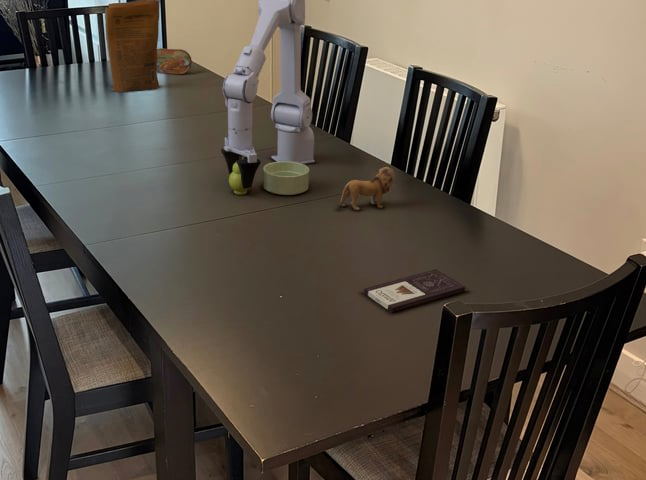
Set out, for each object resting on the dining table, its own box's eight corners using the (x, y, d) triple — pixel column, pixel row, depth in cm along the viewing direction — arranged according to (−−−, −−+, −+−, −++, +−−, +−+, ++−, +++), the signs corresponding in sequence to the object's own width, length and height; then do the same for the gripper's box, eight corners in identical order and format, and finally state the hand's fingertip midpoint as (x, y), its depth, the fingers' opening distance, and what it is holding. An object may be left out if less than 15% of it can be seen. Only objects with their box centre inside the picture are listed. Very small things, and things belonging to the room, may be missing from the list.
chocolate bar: (465, 287, 163) (392, 308, 155) (464, 291, 164) (391, 312, 155) (435, 269, 169) (364, 288, 161) (435, 273, 170) (363, 292, 162)
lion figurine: (385, 198, 204) (388, 163, 199) (396, 206, 200) (399, 170, 195) (332, 206, 199) (334, 170, 194) (342, 214, 195) (345, 177, 190)
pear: (246, 186, 208) (246, 151, 203) (255, 194, 204) (255, 158, 199) (225, 189, 206) (224, 154, 201) (234, 197, 202) (234, 161, 197)
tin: (150, 72, 302) (149, 48, 297) (153, 70, 304) (151, 46, 300) (190, 75, 300) (189, 51, 295) (193, 73, 303) (192, 49, 298)
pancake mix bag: (167, 89, 283) (162, 0, 267) (113, 94, 275) (104, 3, 260) (161, 84, 288) (155, -3, 272) (107, 89, 280) (98, -1, 265)
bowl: (295, 177, 215) (296, 159, 212) (316, 192, 206) (317, 173, 204) (255, 183, 210) (255, 164, 207) (275, 199, 202) (275, 179, 199)
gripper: (212, 120, 200) (214, 175, 207) (237, 137, 189) (237, 194, 197) (239, 117, 203) (240, 171, 210) (265, 134, 192) (264, 190, 200)
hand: (240, 182), depth 204 cm, fingers open, 7 cm apart
